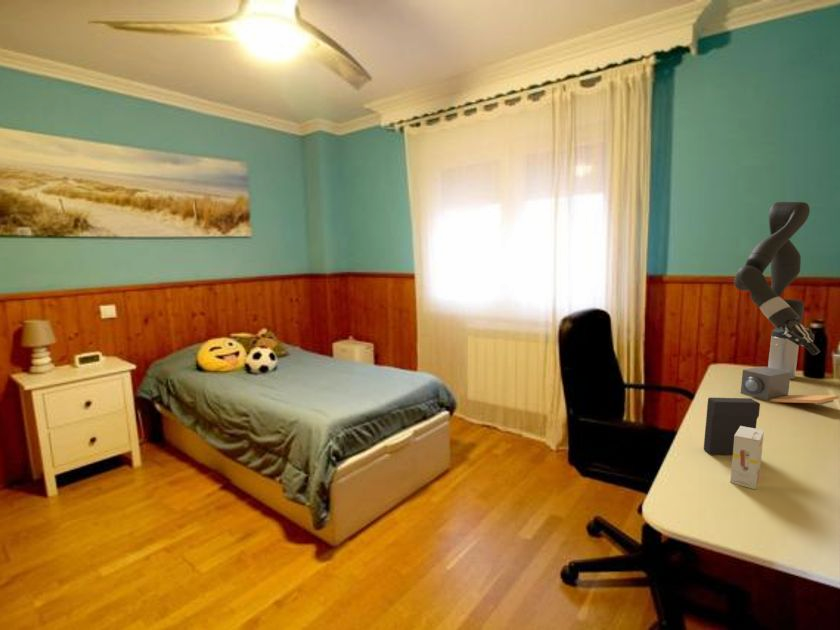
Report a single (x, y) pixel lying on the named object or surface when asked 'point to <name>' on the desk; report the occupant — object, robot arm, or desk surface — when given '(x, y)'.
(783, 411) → the desk surface
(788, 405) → the desk surface
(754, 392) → the camera housing
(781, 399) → the side door
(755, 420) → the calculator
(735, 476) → the ink box
